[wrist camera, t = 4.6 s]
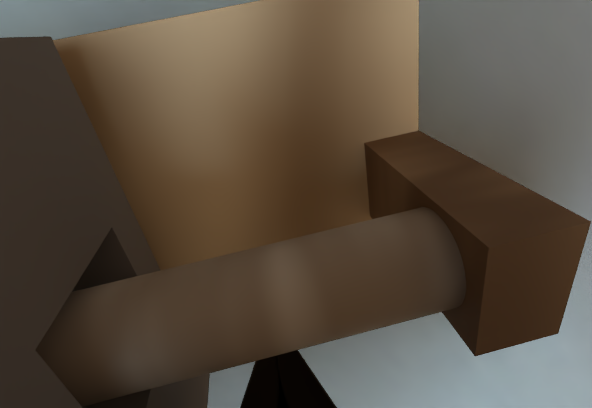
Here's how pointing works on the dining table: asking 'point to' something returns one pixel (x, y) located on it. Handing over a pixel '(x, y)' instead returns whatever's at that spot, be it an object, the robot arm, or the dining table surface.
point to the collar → (59, 227)
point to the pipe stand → (293, 199)
